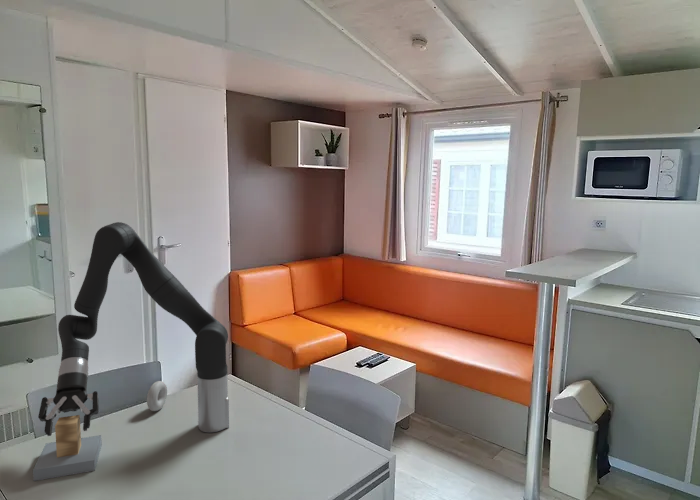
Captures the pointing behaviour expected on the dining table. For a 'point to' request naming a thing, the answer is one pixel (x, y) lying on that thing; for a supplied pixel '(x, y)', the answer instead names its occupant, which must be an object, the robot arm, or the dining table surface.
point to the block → (68, 436)
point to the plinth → (68, 460)
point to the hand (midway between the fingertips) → (67, 432)
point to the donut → (157, 396)
